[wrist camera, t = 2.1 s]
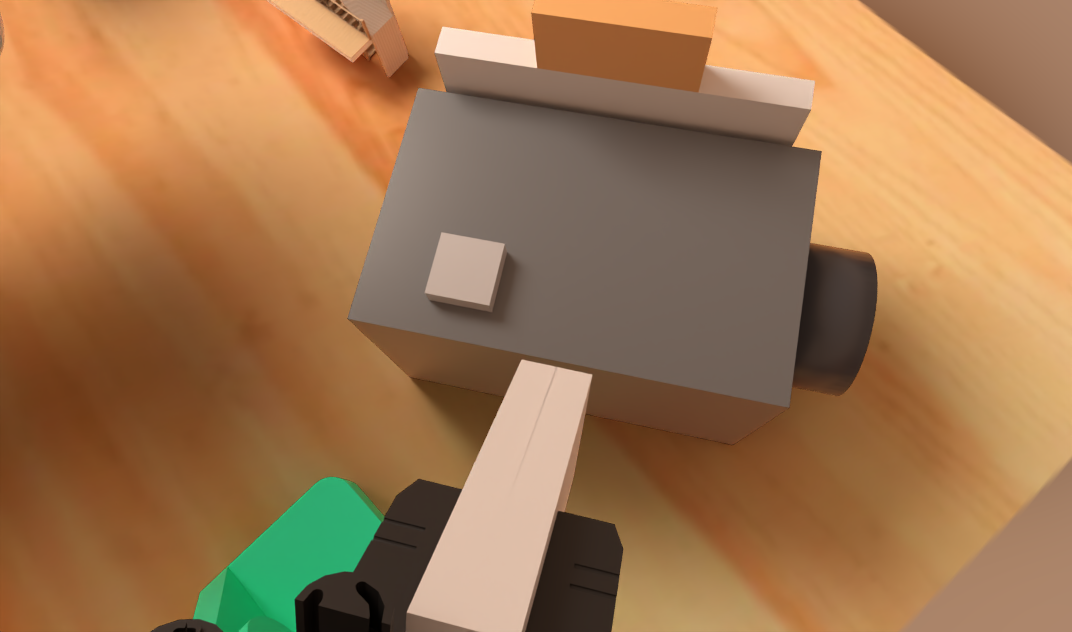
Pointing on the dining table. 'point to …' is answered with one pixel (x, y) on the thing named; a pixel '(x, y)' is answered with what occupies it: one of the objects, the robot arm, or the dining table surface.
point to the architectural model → (352, 27)
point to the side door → (626, 70)
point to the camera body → (612, 265)
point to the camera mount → (291, 559)
